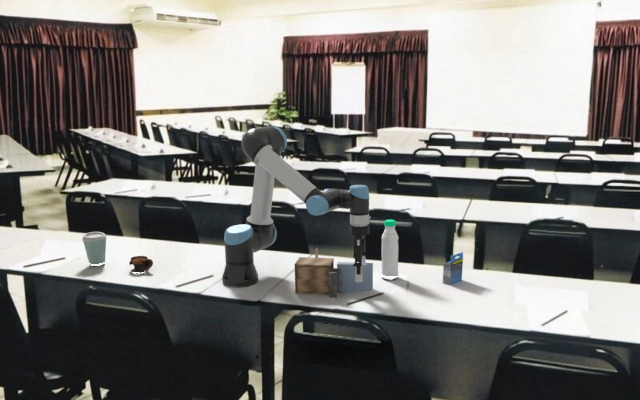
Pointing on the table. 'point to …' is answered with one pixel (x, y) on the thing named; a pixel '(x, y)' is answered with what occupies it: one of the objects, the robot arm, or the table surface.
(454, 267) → the label tape box
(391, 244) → the water bottle
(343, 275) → the door
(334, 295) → the cabinet
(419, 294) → the table surface
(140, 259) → the pottery mug
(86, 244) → the disposable coffee cup
